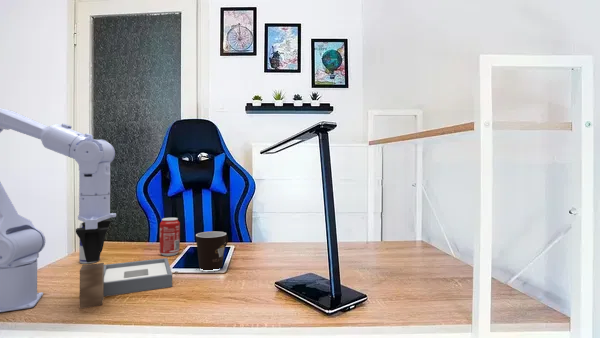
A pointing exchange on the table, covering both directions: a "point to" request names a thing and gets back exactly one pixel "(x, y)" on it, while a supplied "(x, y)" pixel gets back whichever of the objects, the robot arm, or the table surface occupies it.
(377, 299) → the table surface
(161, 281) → the box
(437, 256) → the table surface
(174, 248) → the beverage can
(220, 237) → the coffee mug
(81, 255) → the energy drink
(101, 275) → the peg
